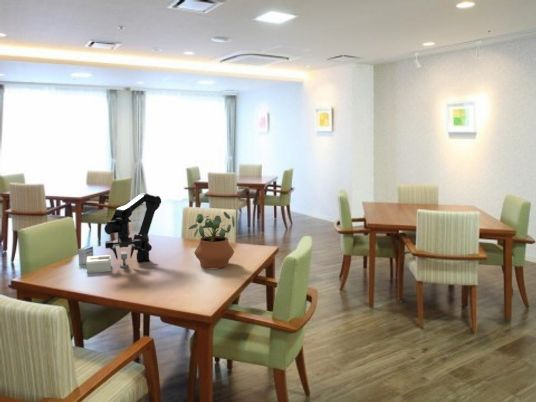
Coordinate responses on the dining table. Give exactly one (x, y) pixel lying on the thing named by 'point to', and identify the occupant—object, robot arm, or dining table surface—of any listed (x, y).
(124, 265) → the peg
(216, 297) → the dining table surface
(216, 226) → the potted plant
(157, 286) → the dining table surface
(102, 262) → the keyhole plate
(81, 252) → the medicine box
